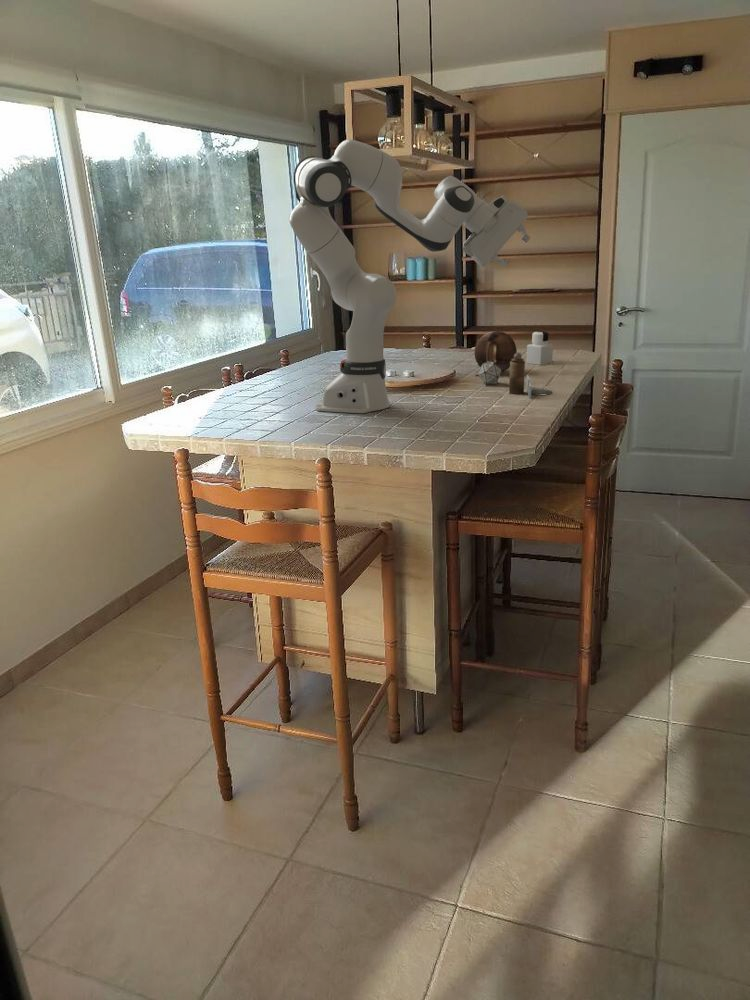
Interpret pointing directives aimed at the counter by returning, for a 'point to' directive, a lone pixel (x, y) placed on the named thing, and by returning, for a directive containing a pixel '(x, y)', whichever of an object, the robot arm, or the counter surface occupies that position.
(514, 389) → the pepper mill
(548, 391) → the slate coaster
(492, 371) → the game die
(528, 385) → the clear wall
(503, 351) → the wooden sphere
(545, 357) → the medicine bottle
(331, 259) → the robot arm
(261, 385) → the counter surface
